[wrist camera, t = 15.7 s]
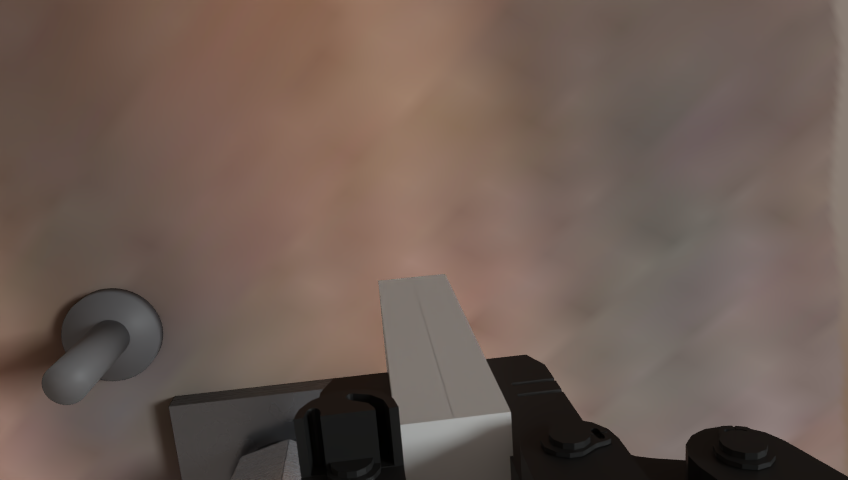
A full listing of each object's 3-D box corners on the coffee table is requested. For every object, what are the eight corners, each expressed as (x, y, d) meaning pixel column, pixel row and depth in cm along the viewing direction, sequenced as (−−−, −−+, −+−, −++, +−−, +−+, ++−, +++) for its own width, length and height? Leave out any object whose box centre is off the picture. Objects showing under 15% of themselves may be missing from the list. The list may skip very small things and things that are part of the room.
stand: (59, 293, 43) (-5, 338, 36) (154, 283, 44) (111, 326, 36) (77, 379, 45) (19, 441, 37) (169, 369, 45) (131, 428, 38)
